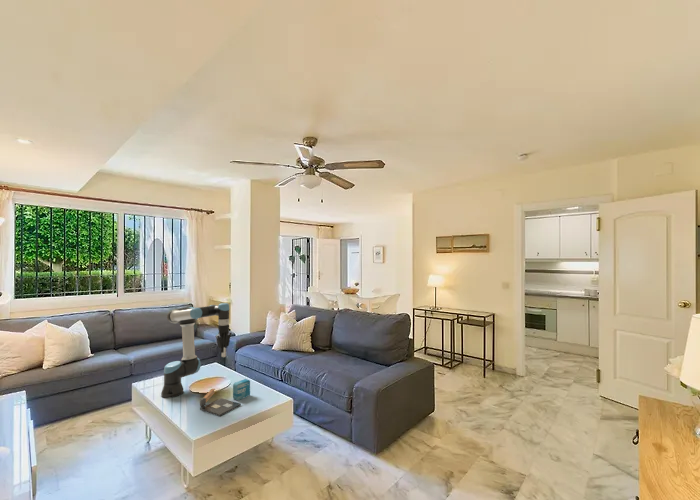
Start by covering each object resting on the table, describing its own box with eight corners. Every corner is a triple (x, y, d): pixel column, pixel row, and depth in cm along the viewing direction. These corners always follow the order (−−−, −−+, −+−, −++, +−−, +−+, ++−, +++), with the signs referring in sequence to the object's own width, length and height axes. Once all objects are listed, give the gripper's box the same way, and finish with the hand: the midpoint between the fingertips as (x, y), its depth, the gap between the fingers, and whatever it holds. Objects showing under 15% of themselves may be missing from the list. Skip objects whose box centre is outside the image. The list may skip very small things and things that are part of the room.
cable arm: (204, 405, 225) (204, 400, 225) (199, 406, 225) (199, 400, 225) (215, 393, 245) (215, 387, 246) (210, 393, 245) (210, 388, 245)
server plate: (199, 409, 226) (199, 405, 226) (221, 399, 241) (221, 395, 241) (219, 416, 216) (219, 412, 216) (240, 405, 232) (240, 401, 232)
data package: (236, 401, 239) (236, 384, 239) (232, 399, 242) (232, 383, 242) (250, 395, 249) (250, 379, 249) (246, 394, 251) (246, 378, 252)
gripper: (219, 326, 233) (219, 359, 232) (234, 323, 244) (234, 355, 244) (212, 325, 236) (212, 358, 236) (227, 322, 248) (227, 353, 247)
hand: (223, 356), depth 240 cm, fingers closed
